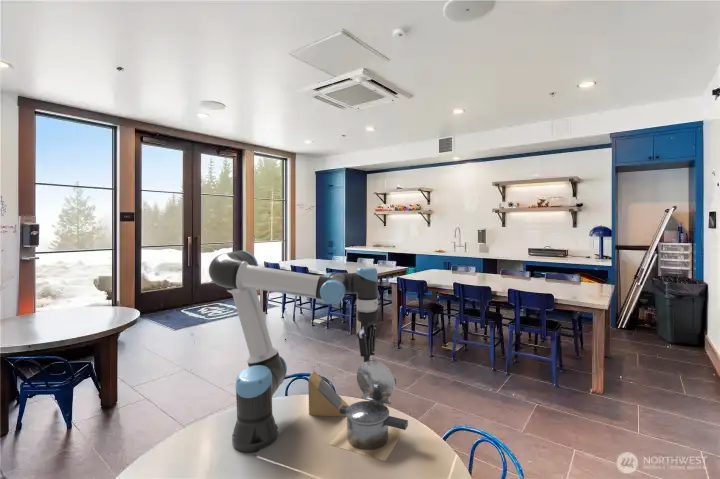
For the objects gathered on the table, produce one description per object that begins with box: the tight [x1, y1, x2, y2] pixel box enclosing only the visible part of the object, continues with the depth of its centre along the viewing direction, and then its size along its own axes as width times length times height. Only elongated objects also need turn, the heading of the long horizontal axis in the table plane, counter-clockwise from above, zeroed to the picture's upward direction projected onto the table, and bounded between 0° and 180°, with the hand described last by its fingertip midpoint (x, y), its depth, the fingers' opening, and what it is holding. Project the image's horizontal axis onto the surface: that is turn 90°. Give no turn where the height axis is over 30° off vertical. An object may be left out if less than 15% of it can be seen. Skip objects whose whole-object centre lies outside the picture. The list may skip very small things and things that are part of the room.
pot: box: [340, 400, 409, 450], centre depth 125 cm, size 24×16×9 cm, turn 64°
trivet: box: [328, 424, 405, 462], centre depth 126 cm, size 20×18×1 cm
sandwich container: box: [307, 370, 350, 417], centre depth 143 cm, size 9×15×15 cm, turn 85°
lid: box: [356, 359, 397, 406], centre depth 132 cm, size 14×15×3 cm
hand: (368, 373), depth 135 cm, fingers closed
